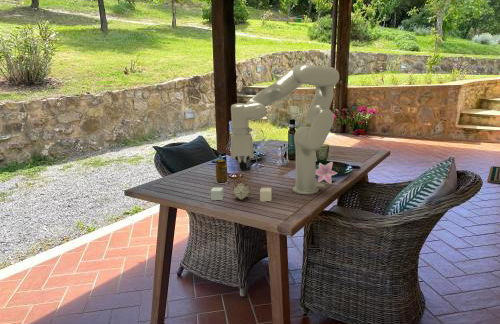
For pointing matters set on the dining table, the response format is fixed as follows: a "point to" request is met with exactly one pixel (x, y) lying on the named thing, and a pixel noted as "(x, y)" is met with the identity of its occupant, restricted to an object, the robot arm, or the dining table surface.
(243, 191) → the game die
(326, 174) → the lily
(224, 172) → the condiment
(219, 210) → the dining table surface
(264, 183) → the dining table surface
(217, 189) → the grey-green block
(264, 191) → the off-white block
